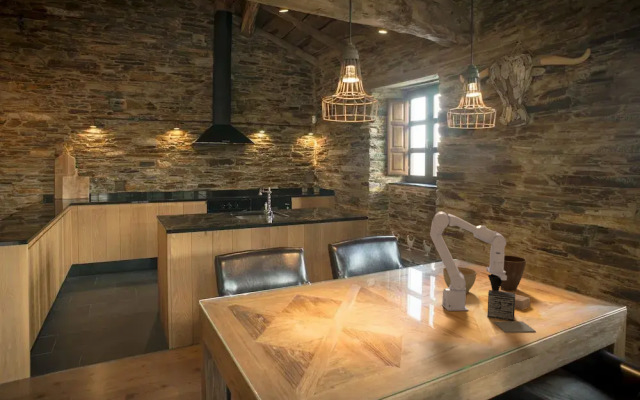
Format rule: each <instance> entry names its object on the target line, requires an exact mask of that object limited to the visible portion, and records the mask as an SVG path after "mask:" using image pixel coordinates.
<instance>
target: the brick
mask: <svg viewBox="0 0 640 400" xmlns="http://www.w3.org/2000/svg"><path fill="white" fill-rule="evenodd" d="M499 291H502V292H507V290H504V289H500V288H499ZM530 307H531V297H528V296H524V295H520V294H515V309H518V310H525V309H529V308H530Z"/></svg>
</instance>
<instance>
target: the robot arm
mask: <svg viewBox="0 0 640 400" xmlns="http://www.w3.org/2000/svg"><path fill="white" fill-rule="evenodd" d="M448 225H449V227H458V228H461V229H463V230H466V231H468V232H470V233H472V235H473V237H474V238H476V239H479V241H482V242H484V243H487V244H491V245H490V250H489V266H486V273H487V272H488V273H489V274H487V278H488V279H489V282H490V286H491V290H494V291H499V289H500V288H501V287H500V285H501V283H502V282H503V280H507V276H506V275H505V273H506V271H504V255H505V247H506V246H507V240H506V238H505V236H503V234H501V233H500V232H497V230H496V231H495V230H494V231H493V230H491V229H489V228H487V226H486V225H484V224H483V225H474V224H472V223H470V222H468V221H466V220H464V219H462V218H460V217H458V216H456V215H454V214H451V213H447V212H445V211H438V212H436V213H435V214H434V216H433V218H432V220H431V227H430V232H429V236H430V238H431V240H432V242H433V244H434V246H435V249H436V250H437V252H438V256H439V257H440V259H441V261H442V264H443V265H444V268H446V270H447V272H448V275H449V277H450V280H451V285H450V286H449V288H448V287H447V288H443V290H442V303H441V305H442V307H444V308H445V310H446V311H449V312H450V311H451V312H452V311H453V312H454V311H456V312H457V311H458V312H459V311H461V312H462V311H469V308H468V307H466V296H467V295H466V294H467V293H466V288H465V286H466V282H465V278H464V275H463V274H462V273H461V272H460V271H459V270H458V268H457V267H458V266H457V264H456V262H455V260H454V259H453V256H452V254H451V252H450V250H449V248H448V245H447V244H446V242H445V240H444V238H443V232H444V230H445V229H446V228H447V226H448Z"/></svg>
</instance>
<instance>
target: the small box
mask: <svg viewBox="0 0 640 400" xmlns="http://www.w3.org/2000/svg"><path fill="white" fill-rule="evenodd" d="M515 295H516V293H515V292H509V291H506V292H502V291H494V290H492V289H488V293H487V299H488V300H487V316H486V317H487V318H491V319H497V320H505V321H515V309H516V308H515Z"/></svg>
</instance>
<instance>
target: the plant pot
mask: <svg viewBox="0 0 640 400" xmlns="http://www.w3.org/2000/svg"><path fill="white" fill-rule="evenodd" d="M526 262H527V259H526V258H523V257H520V256H516V255H508V254H507V255H506V254H504V271H506V273H505V275H506V276H507V280H503V282H502V283H501V285H500V288H501V290H503V291H513V292H514V291H516V290H517V289H518V287H519V286H520V285H519V284H520V282H521V281H522V278H523V274H524V271H525V267H526V265H527V263H526Z"/></svg>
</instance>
